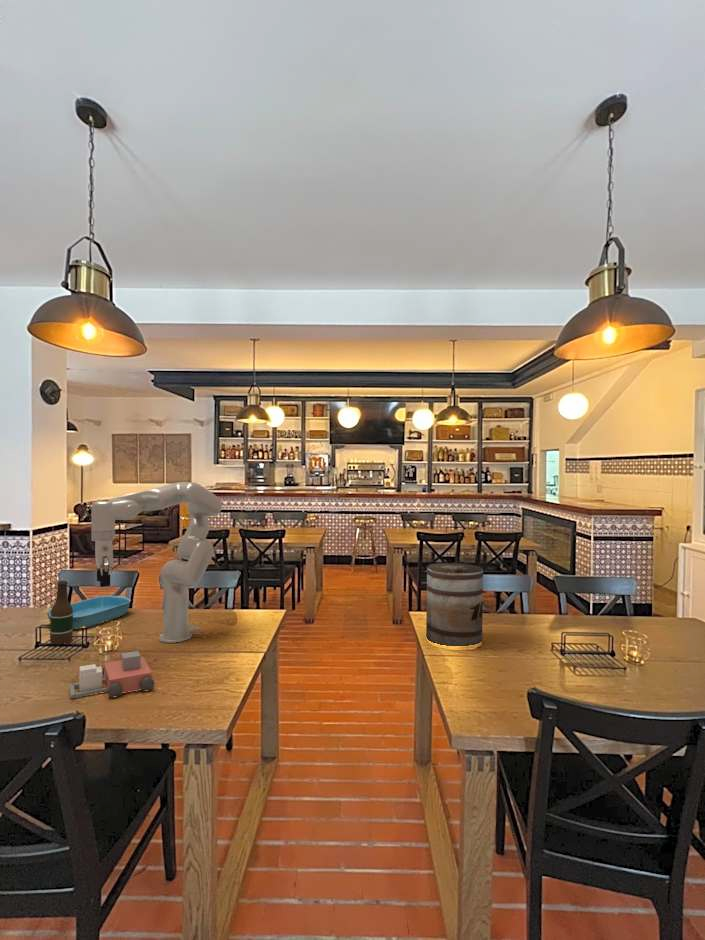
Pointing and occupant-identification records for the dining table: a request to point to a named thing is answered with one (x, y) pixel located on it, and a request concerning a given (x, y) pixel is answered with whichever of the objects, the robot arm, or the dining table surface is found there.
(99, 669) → the stepped cream block
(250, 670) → the dining table surface
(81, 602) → the casserole dish
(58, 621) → the beer bottle
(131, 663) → the pink toy truck
